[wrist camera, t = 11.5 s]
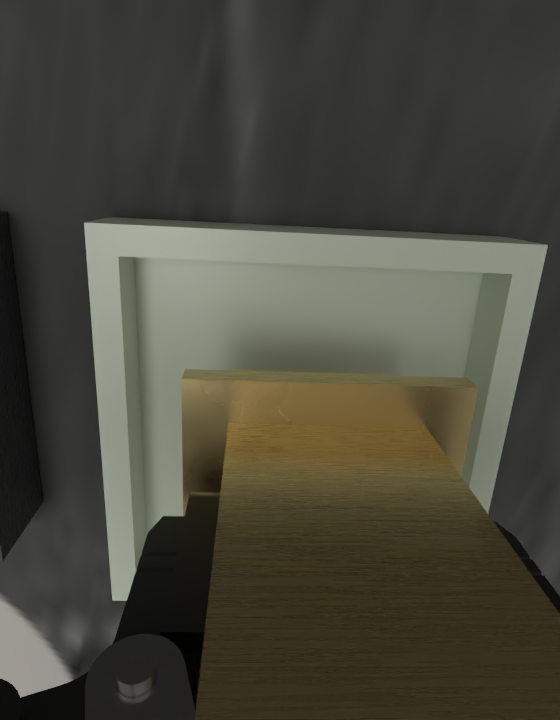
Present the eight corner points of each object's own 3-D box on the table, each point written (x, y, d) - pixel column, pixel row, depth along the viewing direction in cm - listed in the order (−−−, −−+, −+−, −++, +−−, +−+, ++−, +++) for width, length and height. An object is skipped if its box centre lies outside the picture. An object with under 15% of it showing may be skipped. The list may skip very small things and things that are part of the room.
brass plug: (198, 334, 14) (69, 664, 4) (427, 341, 14) (783, 661, 5) (198, 528, 16) (114, 1044, 6) (398, 530, 16) (601, 1019, 7)
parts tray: (111, 216, 15) (83, 222, 12) (503, 236, 15) (548, 245, 13) (130, 548, 19) (112, 600, 16) (442, 551, 19) (468, 601, 17)
